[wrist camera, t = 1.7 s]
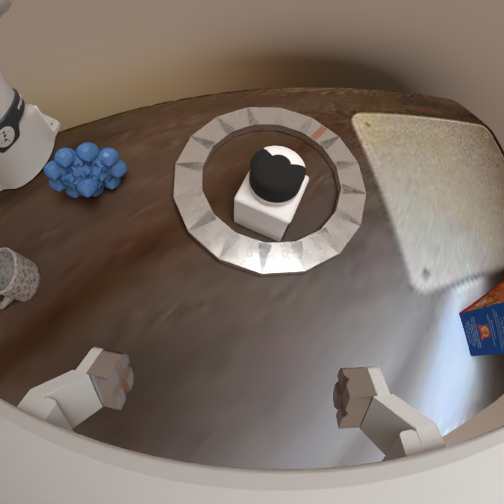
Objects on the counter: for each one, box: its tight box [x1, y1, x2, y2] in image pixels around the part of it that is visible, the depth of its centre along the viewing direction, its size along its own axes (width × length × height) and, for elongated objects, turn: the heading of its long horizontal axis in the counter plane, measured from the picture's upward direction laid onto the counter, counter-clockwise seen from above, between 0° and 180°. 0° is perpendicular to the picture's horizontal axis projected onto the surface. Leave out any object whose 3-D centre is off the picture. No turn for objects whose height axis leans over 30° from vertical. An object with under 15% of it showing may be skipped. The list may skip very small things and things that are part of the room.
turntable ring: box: [174, 107, 366, 276], centre depth 42 cm, size 28×28×2 cm
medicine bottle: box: [234, 146, 309, 242], centre depth 36 cm, size 7×7×12 cm
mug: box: [0, 247, 41, 310], centre depth 33 cm, size 10×7×7 cm
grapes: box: [44, 142, 127, 198], centre depth 35 cm, size 12×7×12 cm, turn 110°
